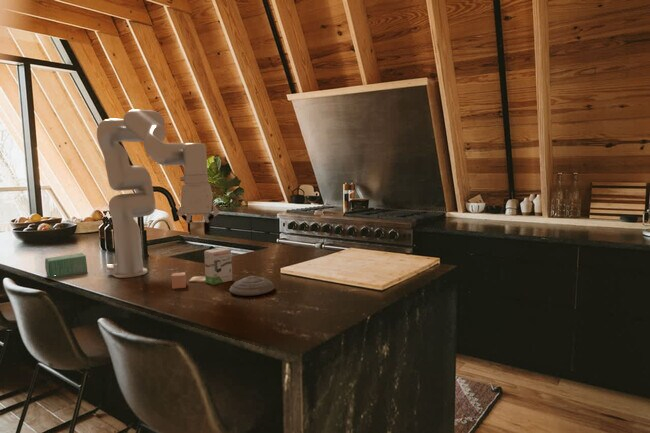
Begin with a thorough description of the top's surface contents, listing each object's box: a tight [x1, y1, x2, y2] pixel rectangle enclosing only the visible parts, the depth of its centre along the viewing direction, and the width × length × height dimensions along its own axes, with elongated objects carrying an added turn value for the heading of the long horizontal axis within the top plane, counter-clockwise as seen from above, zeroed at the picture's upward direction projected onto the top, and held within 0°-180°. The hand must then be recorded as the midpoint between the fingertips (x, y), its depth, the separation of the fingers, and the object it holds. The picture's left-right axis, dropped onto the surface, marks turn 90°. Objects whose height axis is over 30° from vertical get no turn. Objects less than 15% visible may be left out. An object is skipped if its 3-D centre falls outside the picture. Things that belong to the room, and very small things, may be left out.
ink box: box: [203, 247, 233, 285], centre depth 169 cm, size 9×5×12 cm, turn 136°
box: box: [44, 252, 89, 280], centre depth 186 cm, size 7×14×8 cm, turn 130°
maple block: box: [190, 220, 206, 237], centre depth 159 cm, size 4×4×4 cm
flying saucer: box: [228, 275, 276, 297], centre depth 156 cm, size 15×15×6 cm
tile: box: [188, 275, 206, 283], centre depth 173 cm, size 6×6×1 cm
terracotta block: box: [170, 271, 187, 289], centre depth 164 cm, size 4×4×4 cm
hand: (199, 233), depth 159 cm, fingers closed on maple block, 4 cm apart
